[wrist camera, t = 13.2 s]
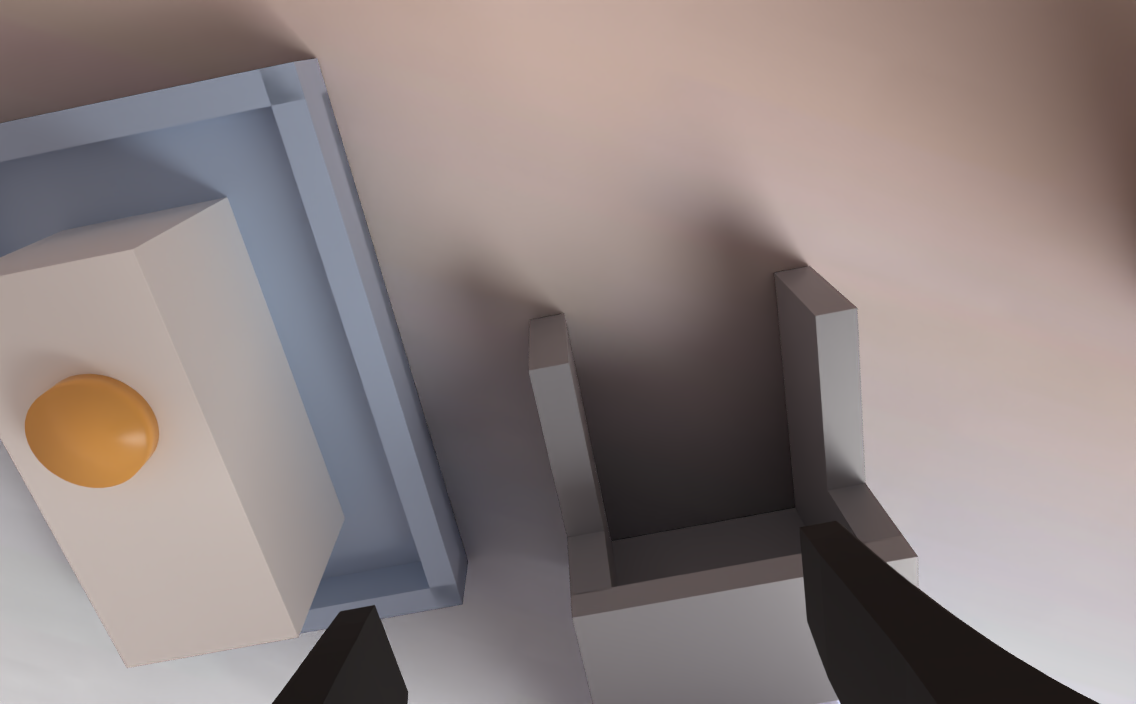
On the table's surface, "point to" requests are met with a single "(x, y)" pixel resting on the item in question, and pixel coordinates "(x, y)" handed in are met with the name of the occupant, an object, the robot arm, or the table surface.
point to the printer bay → (718, 532)
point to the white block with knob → (165, 432)
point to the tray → (273, 292)
